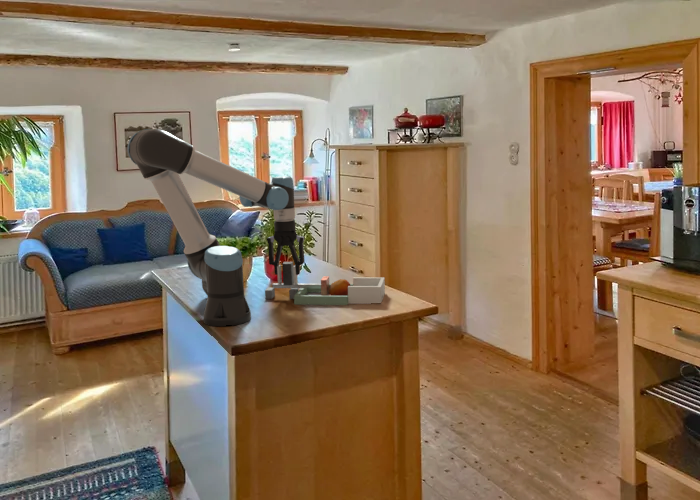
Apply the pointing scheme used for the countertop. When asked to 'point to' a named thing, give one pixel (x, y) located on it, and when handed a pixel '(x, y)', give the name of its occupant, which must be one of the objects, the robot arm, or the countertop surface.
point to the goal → (366, 290)
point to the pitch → (309, 297)
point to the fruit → (339, 288)
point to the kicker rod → (289, 283)
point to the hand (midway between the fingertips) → (287, 283)
